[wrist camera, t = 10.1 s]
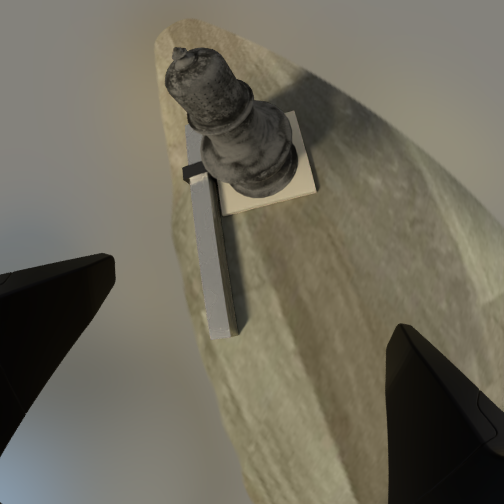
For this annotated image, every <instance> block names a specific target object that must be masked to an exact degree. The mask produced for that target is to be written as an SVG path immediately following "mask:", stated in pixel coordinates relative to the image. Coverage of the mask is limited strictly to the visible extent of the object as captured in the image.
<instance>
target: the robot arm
mask: <svg viewBox="0 0 504 504" xmlns="http://www.w3.org/2000/svg"><path fill="white" fill-rule="evenodd" d="M115 279H116V277H115V260H114V257H113V256H112V255H108V254H105V253H99V254H94V255H90V256H85V257H80V258H75V259H70V260H65V261H60V262H56V263H52V264H46V265H42V266H37V267H33V268H28V269H23V270H19V271H15V272H13V273H11V272H10V273H6V274H1V275H0V457H1V455H2V453H3V451H4V449H5V448H6V446H7V444H8V443H9V441H10V440H11V437H12V436H13V435H14V433H15V431H16V430H17V428H18V426H19V425H20V423H21V422H22V420H23V418H24V417H25V415H26V414H25V413H27V412H28V410H29V409H30V407H31V406H32V404H33V403H34V401H35V400H36V398H37V397H38V395H39V394H40V392H41V391H42V389H43V388H44V386H45V385H46V383H47V382H48V380H49V379H50V377H51V376H52V374H53V373H54V372H55V370H56V369H57V367H58V366H59V364H60V363H61V361H62V360H63V359H64V357H65V356H66V354H67V353H68V352H69V350H70V349H71V348H72V346H73V345H74V344H75V342H76V341H77V340H78V338H79V337H80V335H81V334H82V333H83V331H84V330H85V329H86V328H87V326H88V325H89V323H90V322H91V321H92V319H93V318H94V316H95V315H96V313H97V312H98V310H99V308H100V307H101V305H102V303H103V302H104V300H105V299H106V297H107V295H108V294H109V292H110V290H111V289H112V288H113V286H114V284H115ZM385 397H386V412H387V431H388V465H389V486H388V504H504V412H503V411H502V410H501V409H499V408H498V407H497V406H496V405H495V404H494V403H493V402H492V401H491V400H490V399H489V398H488V397H487V396H486V395H485V394H484V393H483V392H482V391H481V390H480V391H479V388H478V387H477V386H476V385H475V384H473V383H472V382H471V381H470V380H469V379H468V378H467V377H466V376H465V375H464V374H463V373H462V372H461V371H460V370H459V369H458V368H457V367H456V366H455V365H454V364H453V363H451V362H450V361H449V360H448V359H447V358H446V357H445V356H444V355H443V354H442V353H441V352H440V351H439V350H438V349H436V348H435V347H434V346H433V345H432V344H431V343H430V342H429V341H428V340H427V339H426V338H424V337H423V336H422V335H421V334H420V333H419V332H418V331H417V330H416V329H415V328H413V327H412V326H411V325H407V324H402V323H400V324H398V325H397V326H396V328H395V330H394V332H393V334H392V337H391V339H390V341H389V343H388V345H387V349H386V382H385ZM0 504H2V503H0Z"/></svg>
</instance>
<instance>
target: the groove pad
mask: <svg viewBox="0 0 504 504" xmlns="http://www.w3.org/2000/svg"><path fill="white" fill-rule="evenodd" d="M284 114H285V115H286V116H287V118H288V119H289V121H290V125H291V128H292V143H293V144H294V146H295V148H296V151H297V154H298V167H297V170H296V173H295V175H294V177H293V179H292V180H291V182H290V183H289V184H288V185H287V186H286V187H285V188H284V189H283V190H281V191H280V192H278V193H276V194H274V195H272V196H268V197H265V198H250V197H246V196H243V195H242V194H240V193H238V192H236V191H235V190H234V188H233V187H232V186H231V185H230V184H229V183H224V182H222V181H220V180H218V179H217V182H218V189H219V196H220V203H221V210H222V215H223V216H224V217H225V216H229V215H232V214H236V213H240V212H243V211H247V210H251V209H255V208H258V207H262V206H266V205H270V204H274V203H278V202H281V201H285V200H289V199H293V198H297V197H301V196H305V195H309V194H313V193H317V191H316V187H315V183H314V179H313V176H312V172H311V168H310V164H309V160H308V157H307V153H306V149H305V146H304V142H303V139H302V135H301V131H300V128H299V125H298V121H297V118H296V114H295V111H290V112H287V113H284Z"/></svg>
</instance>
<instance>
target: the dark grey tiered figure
mask: <svg viewBox="0 0 504 504" xmlns="http://www.w3.org/2000/svg"><path fill="white" fill-rule="evenodd" d="M173 50H174V51H173V55H172V59H173V60H174V61H173V62H172V63H171V65H170V66H169V68H168V69H167V72H166V76H165V86H166V88H167V90H168V92H169V94H170V95H171V96H172V97H173V98H174V99H175V100H176V101H177V102H178V103H179V104H180V105H181V106H182V107H183V108H184V110H185V111H186V112H187V119H188V123H189V125H190V127H191V128H192V129H193V130H194V131H195V132H197V133H199V134H201V135H203V137H202V139H201V146H200V153H201V160H202V162H203V164H204V166H205V169H206V170H207V171H208V172H209V173H210V174H211V175H212V176H213V177H214V178H216V179H218V180H220V181H222V182H224V183H229V184H230V185H231V186H232V187H233V188H234V190H235V191H236V192H238V193H240V194H242V195H243V196H246V197H250V198H265V197H268V196H272V195H274V194H276V193H278V192H280V191H281V190H283V189H284V188H285V187H286V186H287V185H288V184H289V183H290V182H291V180H292V179H293V177H294V175H295V173H296V170H297V167H298V154H297V151H296V148H295V146H294V144H293V143H292V128H291V125H290V121H289V119H288V118H287V116H286V115H285V114H284V112H283V111H282V110H280V109H279V108H278V107H276V106H275V105H273V104H270V103H268V102H265V101H256V100H254V95H253V92H252V89H251V88H250V87H249V85H248V84H246V83H245V82H243V81H241V80H238V79H236V77H235V76H234V74H233V73H232V71H231V69H230V68H229V66H228V64H227V63H226V61H225V60H224V58H223V57H222V55H221V54H219V53H218V52H217V51H215V50H213V49H208V48H195V49H192V50H189V51H187V50H186V48H177V47H175V48H174V49H173Z"/></svg>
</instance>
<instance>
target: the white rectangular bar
mask: <svg viewBox="0 0 504 504" xmlns="http://www.w3.org/2000/svg"><path fill="white" fill-rule="evenodd" d="M185 132H186V144H187V156H188V166H185V167H183V168H182V169H183V180H184V181H186V182H187V183H189V184H190V187H191V197H192V206H193V215H194V224H195V232H196V241H197V249H198V256H199V264H200V271H201V279H202V286H203V293H204V300H205V307H206V313H207V320H208V326H209V332H210V339H211V340H213V339H221V338H228V337H233V336H237V335H238V329H237V323H236V316H235V310H234V304H233V298H232V291H231V285H230V278H229V272H228V265H227V259H226V252H225V245H224V238H223V231H222V224H221V217H220V210H219V203H218V196H217V189H216V182H217V179H216V178H214V177H213V176H212V175H211V174H210V173H209V172H208V171H207V170H206V169H205V166H204V164H203V162H202V160H201V153H200V146H201V139H202V137H203V135H201V134H199V133H197V132H195V131H194V130H193V129H192V128H191V127H190V125H189V124H188V125H185Z"/></svg>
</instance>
